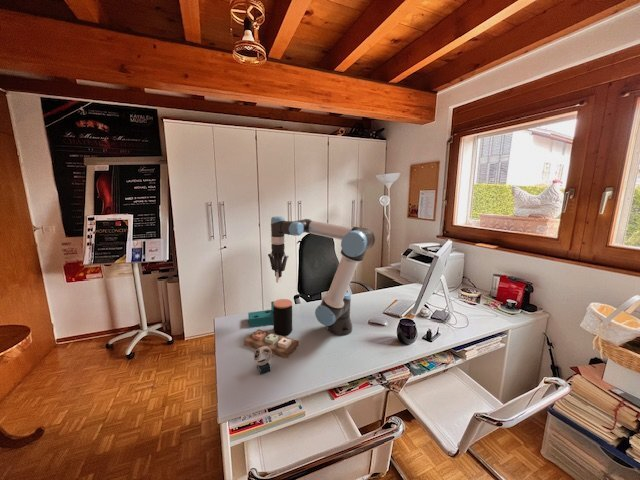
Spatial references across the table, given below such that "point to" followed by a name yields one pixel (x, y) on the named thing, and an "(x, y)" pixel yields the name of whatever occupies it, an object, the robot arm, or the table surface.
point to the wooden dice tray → (274, 348)
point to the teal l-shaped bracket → (261, 317)
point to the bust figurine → (262, 364)
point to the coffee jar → (282, 317)
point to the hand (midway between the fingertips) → (278, 281)
